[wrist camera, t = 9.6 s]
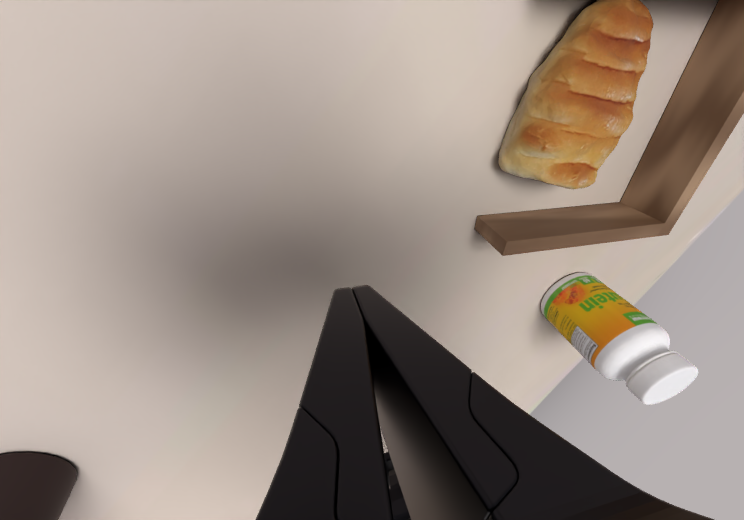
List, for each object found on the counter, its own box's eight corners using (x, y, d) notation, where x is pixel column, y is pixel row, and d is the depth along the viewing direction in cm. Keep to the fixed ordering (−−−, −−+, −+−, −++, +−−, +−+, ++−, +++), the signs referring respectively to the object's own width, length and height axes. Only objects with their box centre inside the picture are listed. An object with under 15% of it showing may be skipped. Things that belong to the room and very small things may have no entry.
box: (624, 213, 25) (668, 234, 22) (474, 228, 22) (502, 255, 20) (745, -24, 17) (836, -37, 14) (536, -44, 15) (598, -64, 12)
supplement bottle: (598, 262, 28) (724, 349, 20) (586, 305, 31) (690, 395, 23) (542, 281, 27) (647, 377, 20) (535, 323, 31) (624, 420, 23)
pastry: (554, -23, 15) (624, -38, 12) (651, 12, 17) (731, 6, 14) (484, 169, 20) (522, 192, 17) (566, 179, 22) (613, 201, 19)
